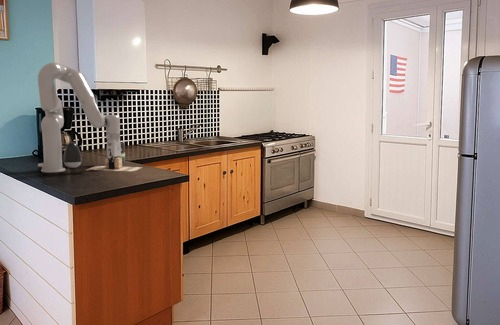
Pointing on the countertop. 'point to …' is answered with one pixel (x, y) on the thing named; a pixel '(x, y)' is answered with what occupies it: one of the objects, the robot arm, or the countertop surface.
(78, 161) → the grey egg shaped speaker
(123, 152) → the coffee can
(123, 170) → the board
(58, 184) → the countertop surface
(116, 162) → the sanding block
